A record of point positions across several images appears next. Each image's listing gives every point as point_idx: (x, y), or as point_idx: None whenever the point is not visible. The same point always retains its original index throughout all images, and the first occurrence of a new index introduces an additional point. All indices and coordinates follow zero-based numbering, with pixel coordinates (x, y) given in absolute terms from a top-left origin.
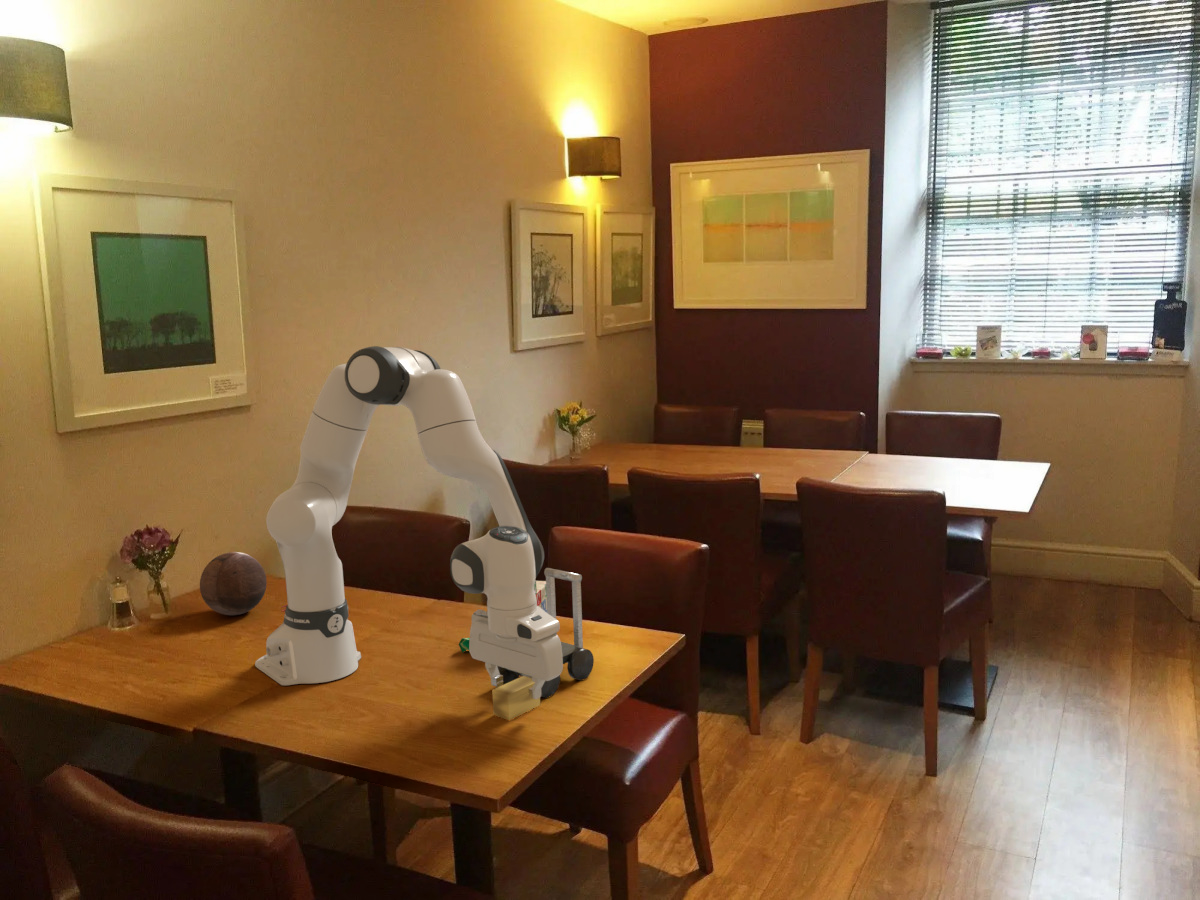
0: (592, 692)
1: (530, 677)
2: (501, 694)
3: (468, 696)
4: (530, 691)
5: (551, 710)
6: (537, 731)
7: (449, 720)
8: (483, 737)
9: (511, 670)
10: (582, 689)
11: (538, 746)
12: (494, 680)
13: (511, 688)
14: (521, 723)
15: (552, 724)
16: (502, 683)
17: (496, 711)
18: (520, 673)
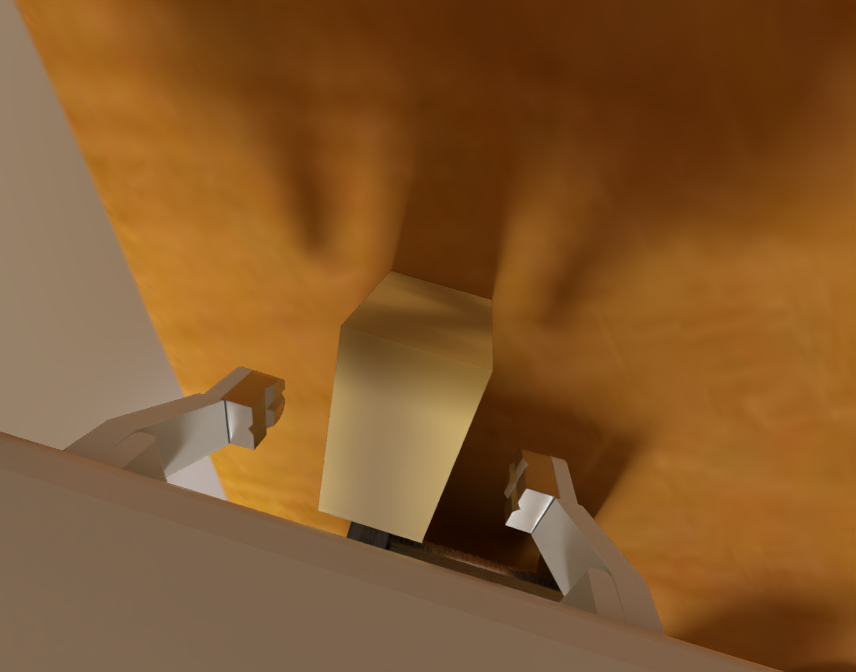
0: (285, 516)
1: (445, 552)
2: (405, 338)
3: (698, 432)
4: (245, 395)
5: (305, 400)
6: (222, 222)
7: (727, 155)
8: (404, 19)
9: (532, 584)
10: (320, 527)
11: (100, 68)
12: (541, 479)
13: (385, 414)
14: (330, 269)
15: (223, 302)
16: (506, 479)
17: (469, 303)
18: (500, 573)
